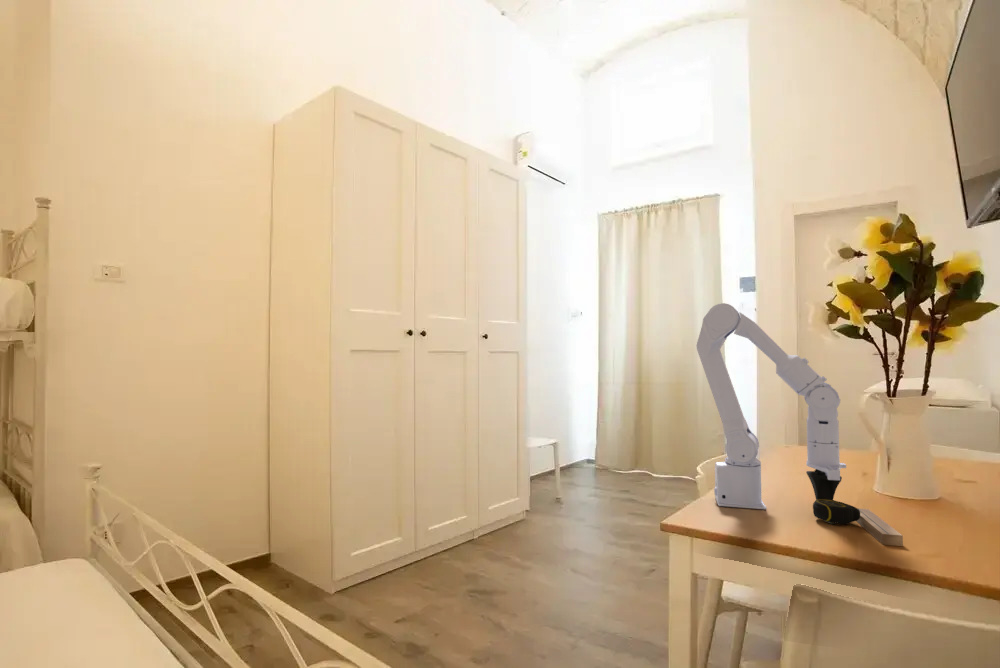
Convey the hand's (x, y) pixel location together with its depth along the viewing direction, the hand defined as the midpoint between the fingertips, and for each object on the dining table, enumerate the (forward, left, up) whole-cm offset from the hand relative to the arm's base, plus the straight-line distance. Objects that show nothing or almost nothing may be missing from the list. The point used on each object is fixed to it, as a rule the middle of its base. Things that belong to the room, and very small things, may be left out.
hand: (824, 507), depth 110 cm
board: (+6, -9, -1) cm, 11 cm away
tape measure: (0, -5, -1) cm, 5 cm away
